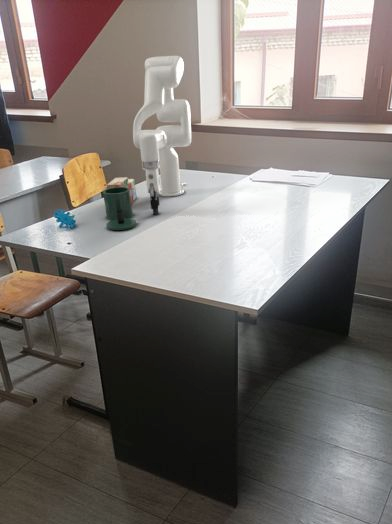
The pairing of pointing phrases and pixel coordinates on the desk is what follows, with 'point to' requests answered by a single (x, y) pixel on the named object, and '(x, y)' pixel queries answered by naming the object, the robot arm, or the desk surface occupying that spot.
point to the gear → (65, 219)
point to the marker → (155, 211)
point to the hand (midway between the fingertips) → (155, 206)
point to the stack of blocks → (124, 183)
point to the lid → (121, 222)
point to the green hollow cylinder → (117, 202)
